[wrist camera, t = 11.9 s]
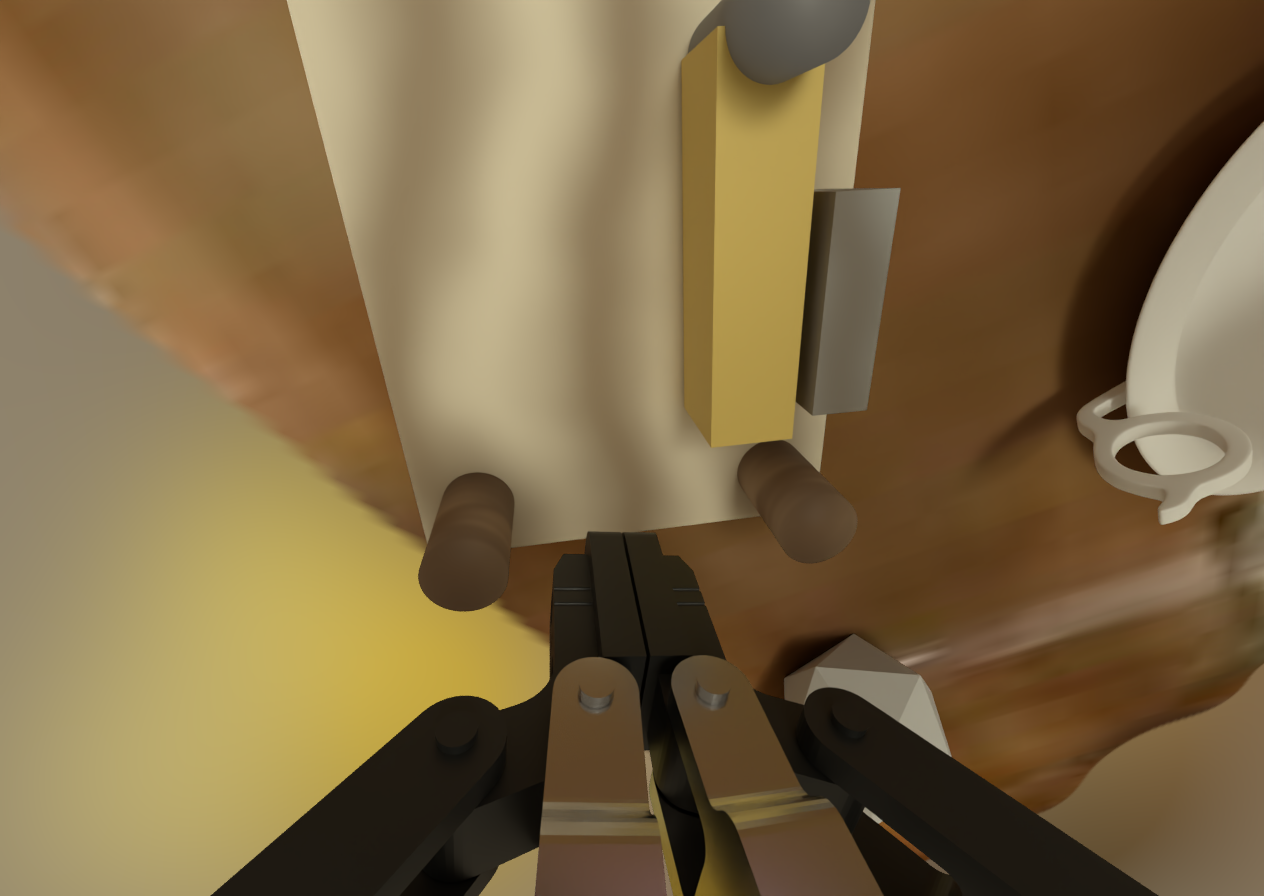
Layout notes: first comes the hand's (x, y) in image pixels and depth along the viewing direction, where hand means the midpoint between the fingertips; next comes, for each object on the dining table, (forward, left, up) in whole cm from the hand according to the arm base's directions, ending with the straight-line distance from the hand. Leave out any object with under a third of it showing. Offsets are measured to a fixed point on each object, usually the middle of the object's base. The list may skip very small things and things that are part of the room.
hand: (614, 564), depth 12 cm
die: (-14, +20, -13) cm, 27 cm away
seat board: (-2, -4, -13) cm, 13 cm away
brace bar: (-6, -6, -11) cm, 14 cm away
